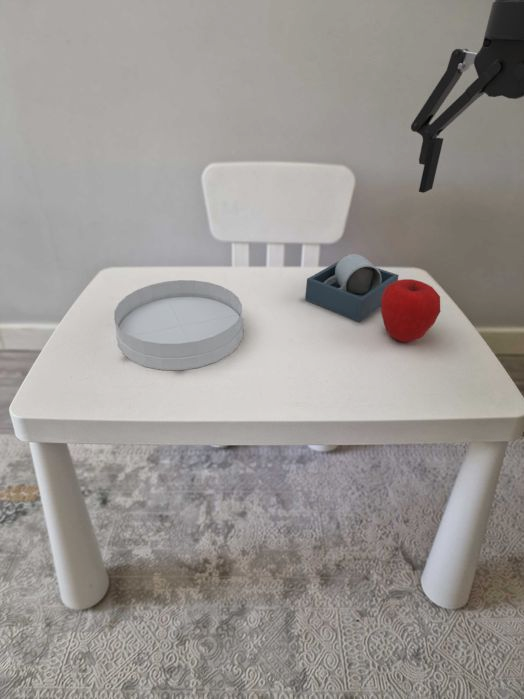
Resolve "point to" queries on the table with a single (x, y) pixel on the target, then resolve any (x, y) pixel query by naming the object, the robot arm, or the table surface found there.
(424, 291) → the apple
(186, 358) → the dish
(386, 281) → the tub
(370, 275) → the ceramic mug
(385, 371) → the table surface
